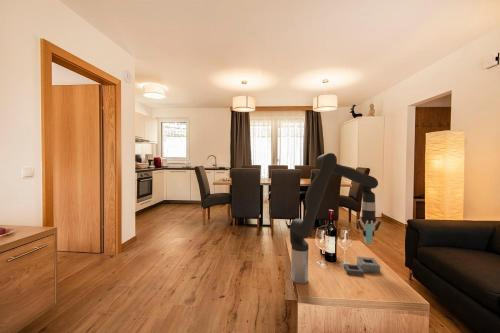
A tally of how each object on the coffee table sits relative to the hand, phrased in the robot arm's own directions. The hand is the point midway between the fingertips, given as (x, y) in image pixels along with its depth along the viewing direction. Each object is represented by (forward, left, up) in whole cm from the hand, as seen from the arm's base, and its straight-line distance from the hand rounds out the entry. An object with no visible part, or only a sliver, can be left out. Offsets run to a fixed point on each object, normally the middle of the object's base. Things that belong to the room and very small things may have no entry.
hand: (368, 236), depth 149 cm
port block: (0, 0, -20) cm, 20 cm away
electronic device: (+18, +22, -20) cm, 35 cm away
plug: (0, 0, -4) cm, 4 cm away
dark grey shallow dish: (-7, +10, -20) cm, 23 cm away
